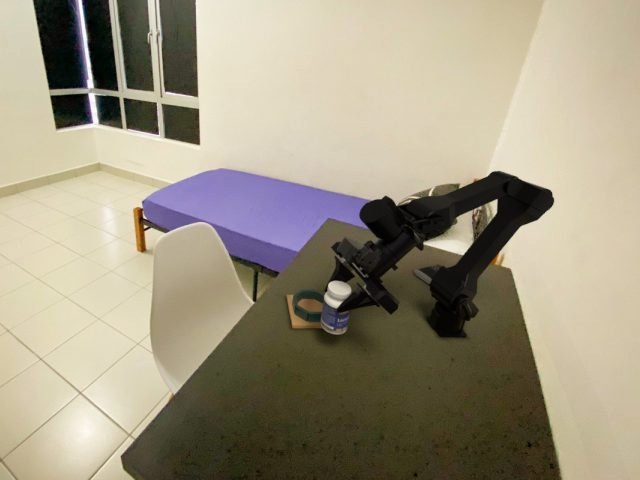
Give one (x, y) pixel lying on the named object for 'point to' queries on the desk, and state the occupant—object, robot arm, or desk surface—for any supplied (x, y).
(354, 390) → the desk surface
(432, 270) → the cell phone
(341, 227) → the desk surface
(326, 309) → the pill bottle
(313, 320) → the dock
